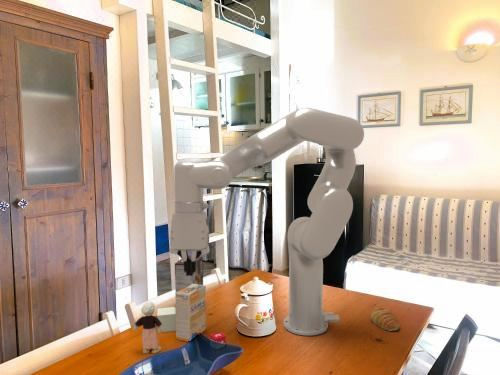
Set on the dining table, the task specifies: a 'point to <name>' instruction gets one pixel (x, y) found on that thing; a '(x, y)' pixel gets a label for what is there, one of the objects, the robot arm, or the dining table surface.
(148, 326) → the grandmother figurine
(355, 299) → the dining table surface
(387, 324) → the pastry
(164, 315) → the sage block
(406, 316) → the dining table surface
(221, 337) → the dice
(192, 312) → the supplement box
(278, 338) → the dining table surface
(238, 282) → the dining table surface
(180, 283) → the coffee box
